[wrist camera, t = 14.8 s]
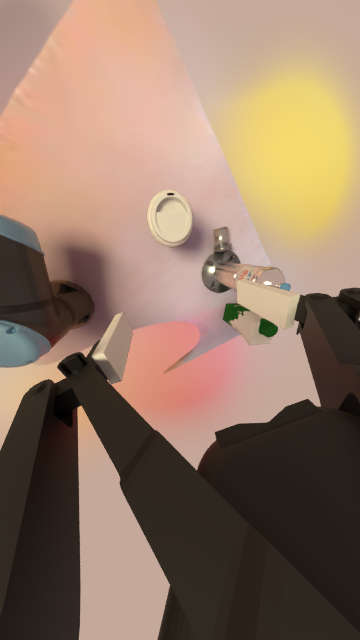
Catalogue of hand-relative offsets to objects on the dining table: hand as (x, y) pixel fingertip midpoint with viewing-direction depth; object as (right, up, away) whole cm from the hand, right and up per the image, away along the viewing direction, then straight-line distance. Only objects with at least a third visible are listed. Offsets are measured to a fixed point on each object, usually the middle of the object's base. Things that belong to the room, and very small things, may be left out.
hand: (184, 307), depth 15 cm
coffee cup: (-5, +25, +24) cm, 35 cm away
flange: (+13, +18, +31) cm, 38 cm away
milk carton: (+21, +2, +41) cm, 46 cm away
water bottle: (+14, +15, +32) cm, 38 cm away
